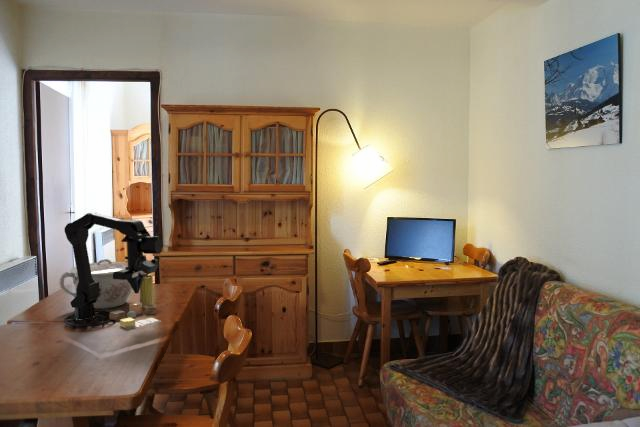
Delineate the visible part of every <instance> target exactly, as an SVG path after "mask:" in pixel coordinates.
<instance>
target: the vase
mask: <svg viewBox="0 0 640 427" xmlns="http://www.w3.org/2000/svg"><path fill="white" fill-rule="evenodd" d="M153 276H154V275H151V274H148V275H147V276H146V277H145V278H144V279H143V280H142V283H141V286H140V290H139V303H142V308H144V306H147V305H154V306H155V300H154V286H153V283H154V282H153V280H154V278H153Z"/></svg>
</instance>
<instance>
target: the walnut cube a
mask: <svg viewBox="0 0 640 427" xmlns="http://www.w3.org/2000/svg"><path fill="white" fill-rule="evenodd" d="M108 315H109V320H111V321H116V322H118V321H120V320H121V319H126V312H125V311H124V310H118V309H117V310H113V311H109V314H108Z"/></svg>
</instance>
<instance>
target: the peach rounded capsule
mask: <svg viewBox="0 0 640 427" xmlns="http://www.w3.org/2000/svg"><path fill="white" fill-rule="evenodd" d="M130 311H134V312H135V313H136V316H137V315H141V314H143V307H142V303H140V301H139V302H132V303H129V304H128V312H130Z"/></svg>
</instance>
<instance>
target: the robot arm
mask: <svg viewBox="0 0 640 427" xmlns="http://www.w3.org/2000/svg"><path fill="white" fill-rule="evenodd" d="M95 225H97V226H101V227H105V228H108V229H113V230H116V231H118V232H119V233H120V234H121V235H124V238H122V239H121V240H120V241H121V243H126V254H127V255H126V256H124V259H125V260H127V263H128V267H125V270H118V271H115V272H114V273H113V279H119V280H127V281H128V282H129V284H130V285H131V287H132V289H133V292H134V294H140V286H141V283H142V280H143V279H144V278H145V277H146V276H147V275H151V274H152V273H153V274H154V273H156V272H157V271H158V268H159V260H158V259H156V258H153V259H151V260H150V259H147V256H146V255H145V254H147V255H149V254H150V255H160V254H161V253H162V251H163V247H164V244H163V243H162V240H161V239H160V236H159V235H155V236H152V235H151V234H150V233H149V231H148V230H147V229H146V227H145V223H144V222H143V221H141V220H139V219H138V220H136V219H121V218H117V217H114V216H113V217H112V216H109V215H105V214H101V213H98V212H93V211H92V212H88V213H86V214H84V215H83V216H81V217H79V218H78V219H75V220H73V222H68V223H67V224H66V225H65V226H64V234H65V237H66V240H67V241H68V242H69V243H70V244H71V246H72V251H73V255H74V261H75V267H76V268H77V274H78V279H79V282H78V285H77V288H76V292H75V293H76V297H73V299H72V300H71V301H70V306H71V308H74V319H75V318H77V319H85V318H90V317H93V316H95V317H96V309H95V307H94V304H93V303H96V301H97V298H98V297H99V296H100V291H101V290H100V287H99V282H95V281H94V280H93V278H92V274H91V268H90V264H91V263H90V258H89V252H88V246H87V241H88V238H89V235H90V234H89V230H90V229H92V228H93V227H94V226H95ZM90 319H91V318H90Z"/></svg>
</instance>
